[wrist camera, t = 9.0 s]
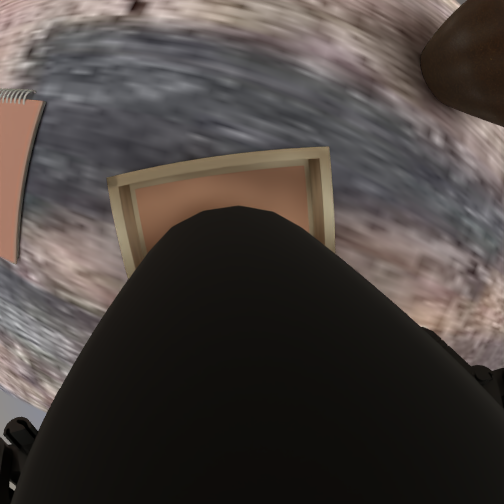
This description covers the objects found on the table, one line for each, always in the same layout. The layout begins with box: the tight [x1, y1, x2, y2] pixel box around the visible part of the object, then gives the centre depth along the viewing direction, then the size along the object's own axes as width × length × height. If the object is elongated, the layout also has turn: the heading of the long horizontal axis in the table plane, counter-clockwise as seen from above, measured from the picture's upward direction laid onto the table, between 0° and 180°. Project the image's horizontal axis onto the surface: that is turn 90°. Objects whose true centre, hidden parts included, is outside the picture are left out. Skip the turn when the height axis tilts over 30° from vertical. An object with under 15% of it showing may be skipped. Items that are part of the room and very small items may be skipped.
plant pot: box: [421, 0, 504, 127], centre depth 12 cm, size 15×15×16 cm
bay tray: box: [107, 147, 335, 279], centre depth 24 cm, size 30×16×4 cm, turn 6°
